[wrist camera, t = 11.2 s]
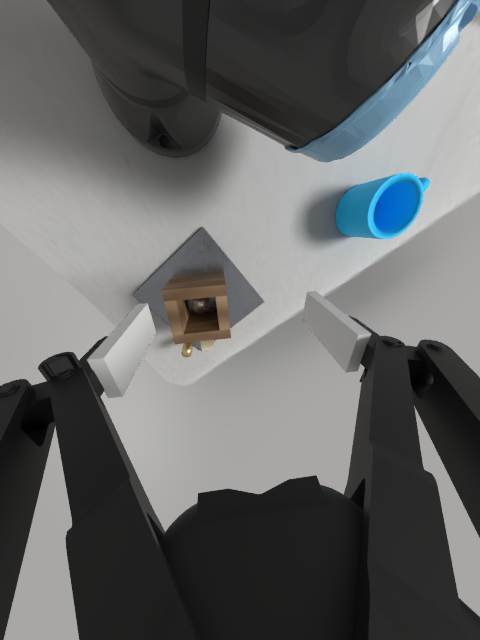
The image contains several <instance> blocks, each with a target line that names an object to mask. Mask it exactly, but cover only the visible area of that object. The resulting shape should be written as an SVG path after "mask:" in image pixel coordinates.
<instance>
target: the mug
mask: <svg viewBox="0 0 480 640" xmlns="http://www.w3.org/2000/svg"><path fill="white" fill-rule="evenodd" d="M429 183H430V181H429V179H427V178H425V177H424V178H418V177H417V176H415V175H413V174H411V173H400V174H396V175H393V176H389V177H385V178H382V179H378V180H375V181H371V182H368V183H364V184H360V185H358V186H355V187H353V188H351V189H350V190H349V191H348V192H346V193H345V194H344V196H343V197H342V199H341V200H340V202H339V204H338V207H337V209H336V216H335V219H336V225H337V227H338V229H339V231H340V232H341V233H342V234H343V235H347V236H352V237H364V238H376V239H390V238H393V237H395V236H398V235H400V234H401V233H402V232H404V231H405V230H406V229H407V228H408V227H409V226H410V225H411V224H412V223H413V221H414V220H415V218H416V216H417V215H418V213H419V211H420V208H421V205H422V202H423V192H424V191H425V190H426V189H427V188H428V185H429Z"/></svg>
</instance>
